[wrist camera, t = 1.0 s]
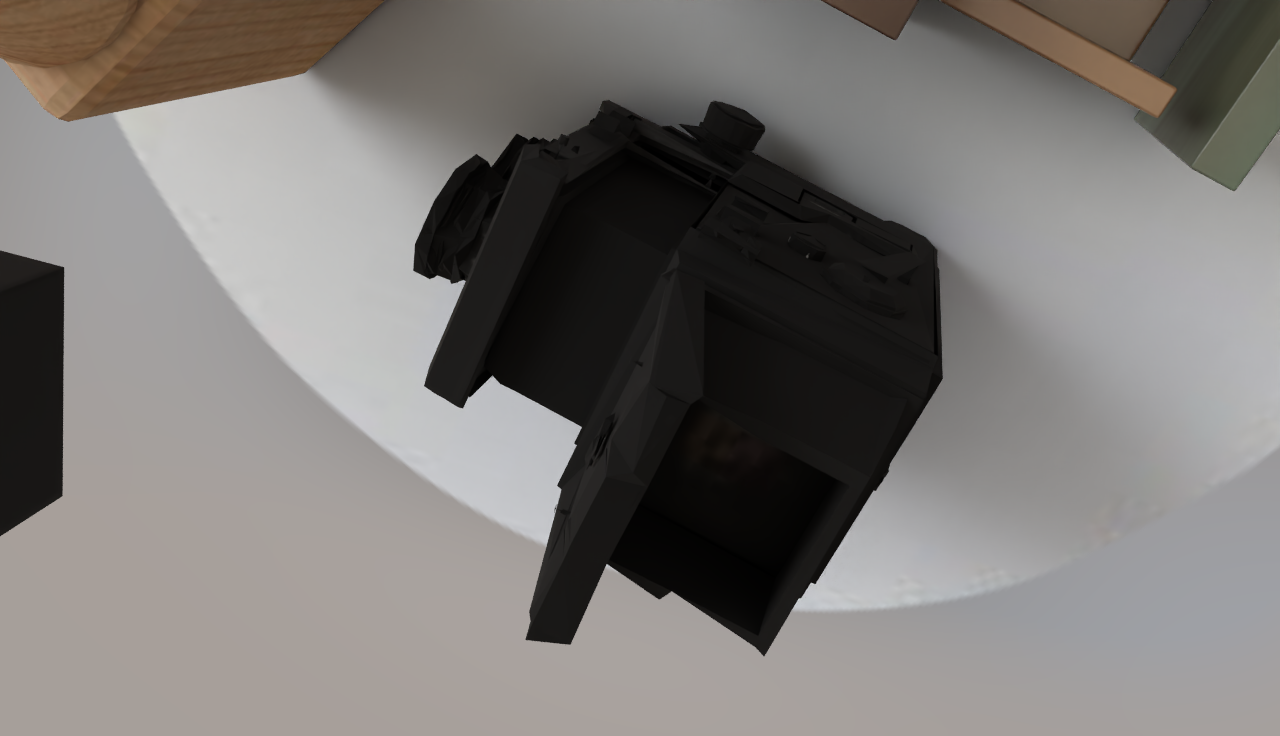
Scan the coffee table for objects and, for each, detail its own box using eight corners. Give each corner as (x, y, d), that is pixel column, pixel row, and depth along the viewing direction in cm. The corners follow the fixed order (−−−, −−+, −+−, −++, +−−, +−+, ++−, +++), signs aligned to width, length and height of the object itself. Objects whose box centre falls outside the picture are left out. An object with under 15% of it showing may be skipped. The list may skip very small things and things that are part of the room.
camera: (602, 28, 40) (323, 97, 22) (970, 219, 40) (1004, 457, 21) (489, 286, 44) (169, 530, 26) (823, 464, 44) (744, 847, 25)
